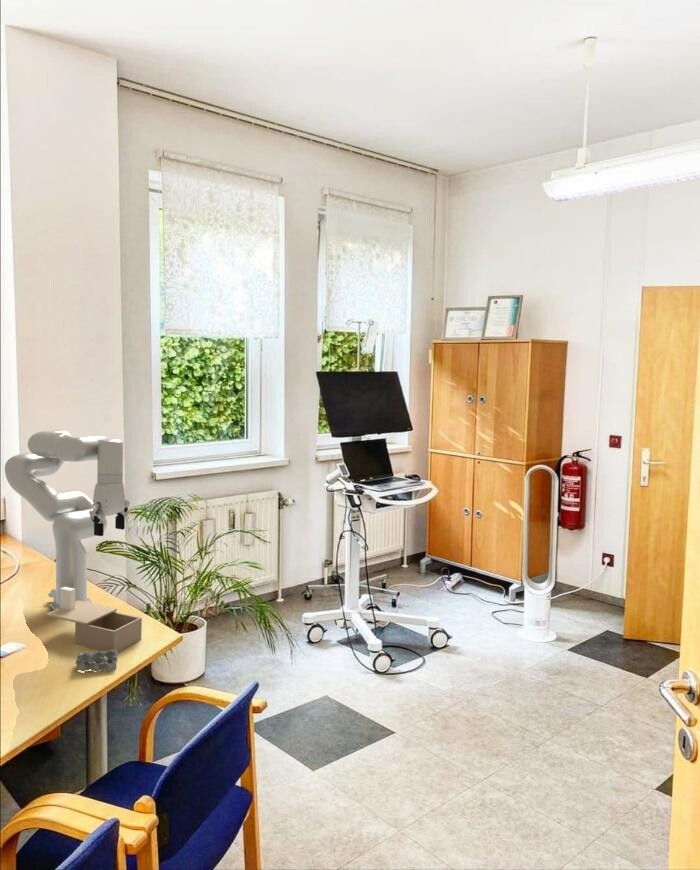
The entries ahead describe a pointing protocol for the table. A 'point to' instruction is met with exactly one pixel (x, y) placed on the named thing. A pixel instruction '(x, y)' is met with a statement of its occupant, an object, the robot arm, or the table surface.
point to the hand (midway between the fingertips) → (109, 532)
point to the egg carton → (96, 660)
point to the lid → (78, 609)
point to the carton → (109, 632)
